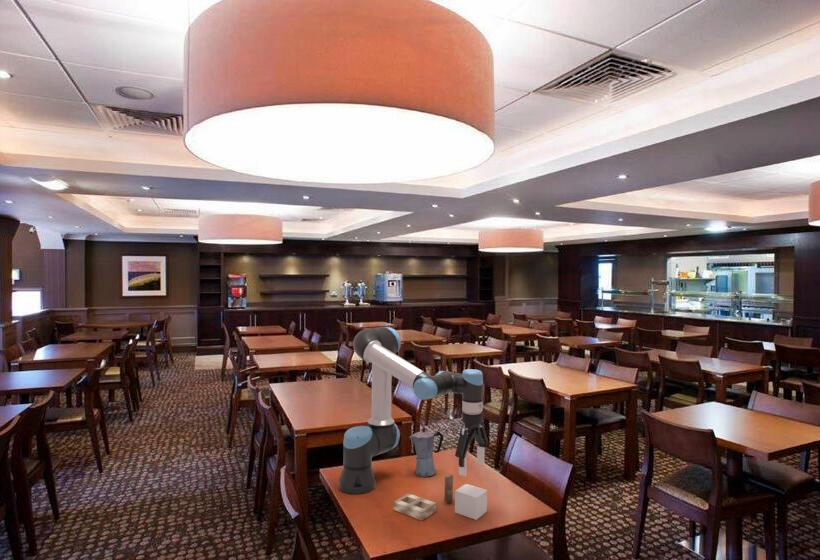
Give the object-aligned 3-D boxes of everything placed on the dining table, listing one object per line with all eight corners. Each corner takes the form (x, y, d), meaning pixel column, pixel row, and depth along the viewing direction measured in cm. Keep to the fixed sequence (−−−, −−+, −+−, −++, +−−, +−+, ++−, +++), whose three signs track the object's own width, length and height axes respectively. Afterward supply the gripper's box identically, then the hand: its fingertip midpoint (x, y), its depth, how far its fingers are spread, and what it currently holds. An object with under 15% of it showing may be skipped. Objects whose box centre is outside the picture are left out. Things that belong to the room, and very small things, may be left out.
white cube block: (454, 512, 178) (455, 490, 178) (465, 504, 184) (466, 483, 184) (476, 519, 173) (476, 497, 173) (486, 511, 179) (487, 490, 179)
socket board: (393, 509, 179) (393, 501, 179) (408, 501, 187) (408, 493, 187) (422, 520, 172) (422, 512, 172) (436, 511, 179) (436, 503, 179)
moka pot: (406, 470, 216) (406, 426, 216) (438, 467, 221) (439, 423, 221) (412, 479, 207) (413, 432, 207) (446, 475, 212) (446, 429, 212)
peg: (442, 501, 186) (443, 476, 186) (447, 498, 189) (447, 473, 189) (449, 504, 184) (450, 478, 184) (454, 501, 187) (454, 475, 187)
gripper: (464, 421, 166) (463, 483, 166) (496, 406, 186) (496, 461, 186) (445, 417, 171) (445, 477, 171) (479, 403, 191) (479, 457, 191)
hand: (471, 469), depth 178 cm, fingers open, 13 cm apart
